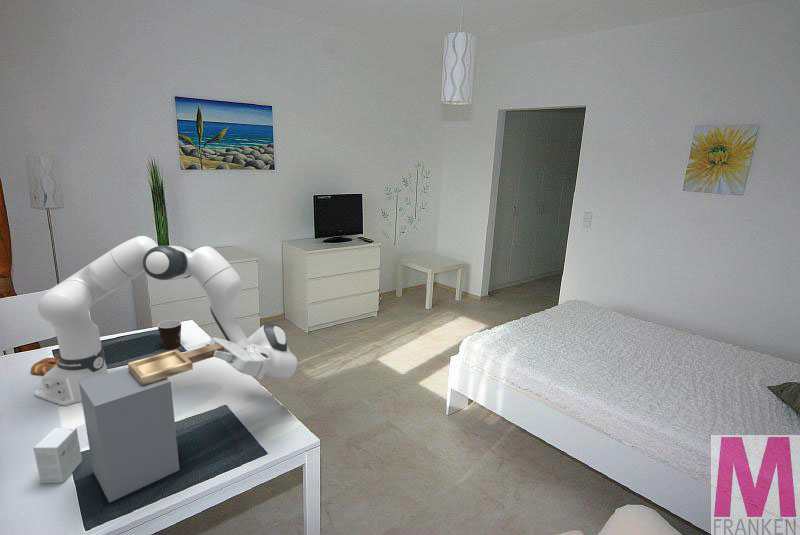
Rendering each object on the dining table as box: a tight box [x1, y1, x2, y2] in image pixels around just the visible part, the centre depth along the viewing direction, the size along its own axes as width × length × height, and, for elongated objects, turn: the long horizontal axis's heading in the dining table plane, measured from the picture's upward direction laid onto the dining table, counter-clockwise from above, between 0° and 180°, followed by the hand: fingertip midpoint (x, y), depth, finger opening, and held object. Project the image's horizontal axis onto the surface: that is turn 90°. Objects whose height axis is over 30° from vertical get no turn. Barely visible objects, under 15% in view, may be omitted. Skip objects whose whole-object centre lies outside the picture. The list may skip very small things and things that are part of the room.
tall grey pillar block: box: [79, 367, 180, 503], centre depth 112 cm, size 16×14×26 cm
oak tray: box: [127, 343, 224, 385], centre depth 118 cm, size 22×10×2 cm, turn 137°
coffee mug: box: [157, 319, 182, 351], centre depth 184 cm, size 12×9×10 cm
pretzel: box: [30, 356, 58, 377], centre depth 162 cm, size 12×11×4 cm
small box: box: [33, 427, 83, 484], centre depth 113 cm, size 8×6×10 cm
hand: (209, 349), depth 123 cm, fingers closed on oak tray, 3 cm apart
